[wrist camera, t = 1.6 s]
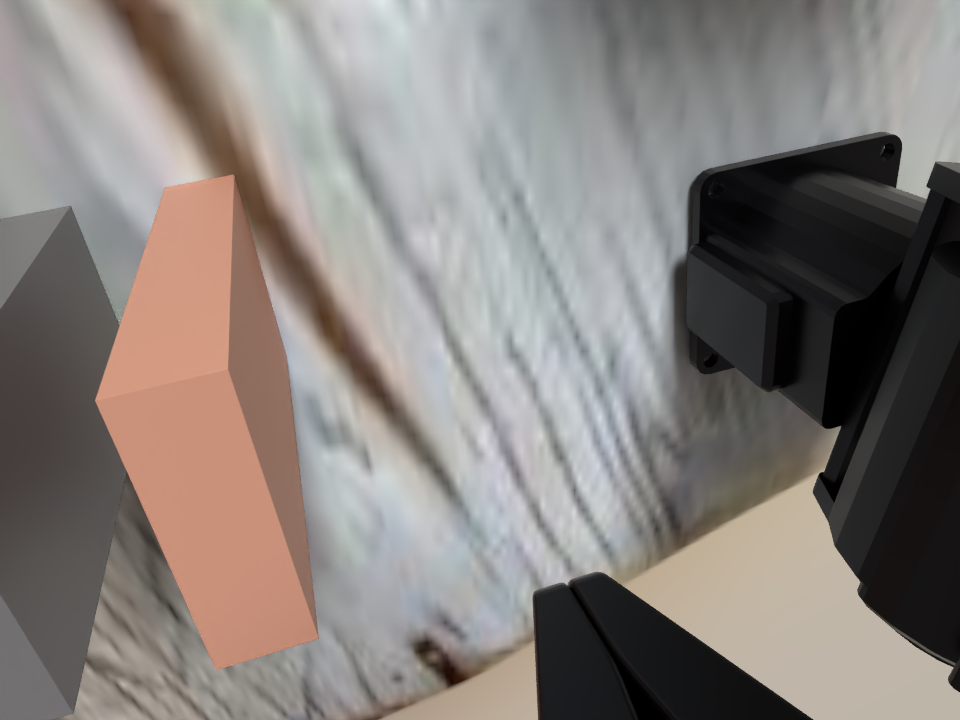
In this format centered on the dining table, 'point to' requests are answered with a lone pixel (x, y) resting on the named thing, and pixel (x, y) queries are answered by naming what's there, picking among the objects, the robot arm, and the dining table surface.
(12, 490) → the domino
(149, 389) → the domino
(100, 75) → the dining table surface
